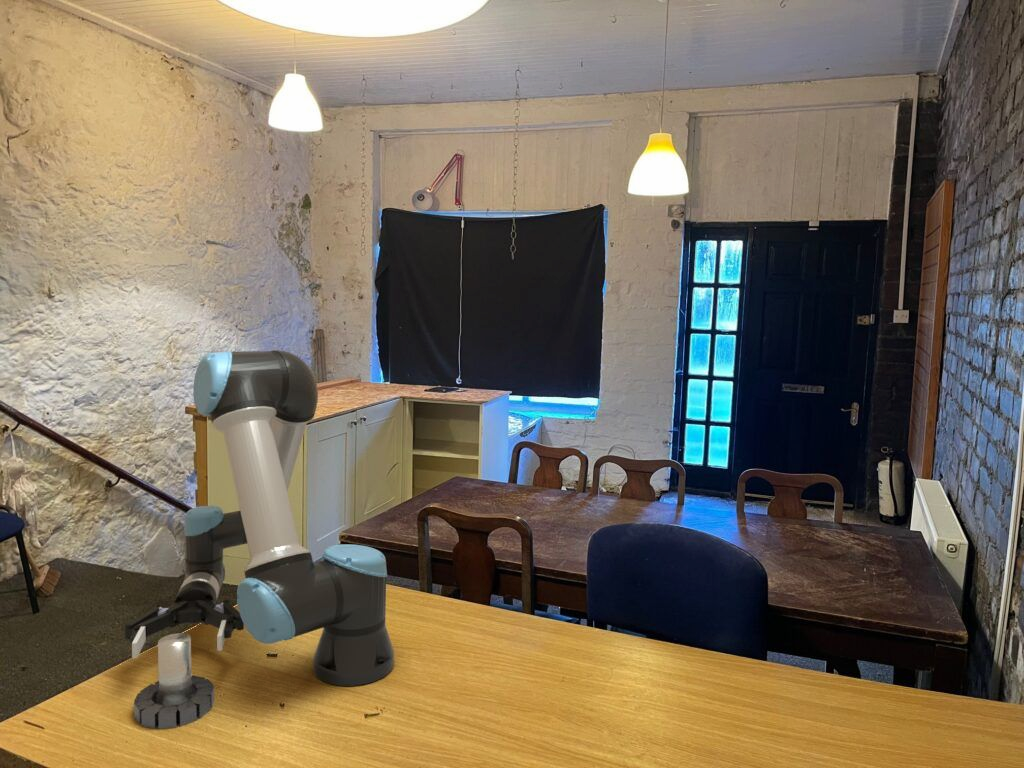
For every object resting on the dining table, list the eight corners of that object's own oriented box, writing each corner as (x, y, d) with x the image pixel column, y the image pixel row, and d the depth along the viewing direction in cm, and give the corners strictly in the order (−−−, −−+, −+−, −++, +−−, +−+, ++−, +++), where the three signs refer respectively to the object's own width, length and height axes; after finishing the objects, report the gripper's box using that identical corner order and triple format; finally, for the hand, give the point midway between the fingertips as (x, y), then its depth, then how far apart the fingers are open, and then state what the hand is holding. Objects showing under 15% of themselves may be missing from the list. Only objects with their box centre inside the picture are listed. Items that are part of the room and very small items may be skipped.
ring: (218, 685, 128) (218, 672, 127) (207, 723, 116) (207, 709, 116) (145, 692, 125) (144, 679, 124) (126, 732, 113) (126, 717, 113)
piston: (194, 698, 123) (193, 632, 122) (188, 714, 119) (187, 645, 117) (162, 701, 122) (161, 634, 121) (156, 717, 117) (154, 648, 116)
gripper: (262, 610, 148) (253, 660, 127) (129, 620, 141) (98, 674, 121) (262, 575, 147) (253, 620, 126) (128, 584, 140) (96, 632, 120)
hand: (177, 647), depth 123 cm, fingers open, 13 cm apart
